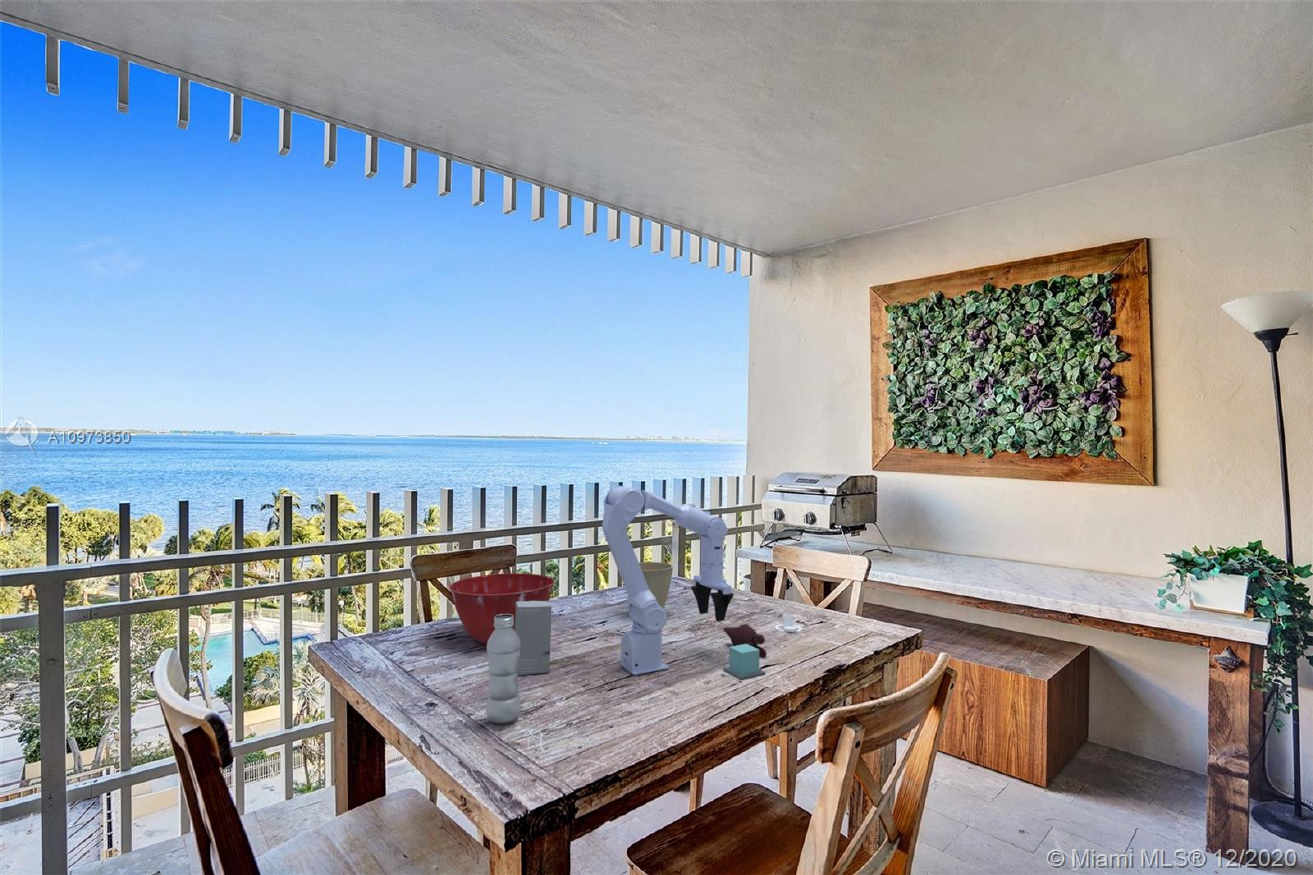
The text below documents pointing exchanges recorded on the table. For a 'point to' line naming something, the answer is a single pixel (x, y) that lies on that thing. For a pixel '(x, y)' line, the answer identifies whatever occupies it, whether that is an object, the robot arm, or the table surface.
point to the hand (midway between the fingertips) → (711, 616)
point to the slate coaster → (744, 674)
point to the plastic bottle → (503, 671)
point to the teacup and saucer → (788, 624)
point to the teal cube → (744, 659)
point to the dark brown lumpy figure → (746, 637)
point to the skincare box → (533, 636)
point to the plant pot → (658, 579)
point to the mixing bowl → (495, 599)
